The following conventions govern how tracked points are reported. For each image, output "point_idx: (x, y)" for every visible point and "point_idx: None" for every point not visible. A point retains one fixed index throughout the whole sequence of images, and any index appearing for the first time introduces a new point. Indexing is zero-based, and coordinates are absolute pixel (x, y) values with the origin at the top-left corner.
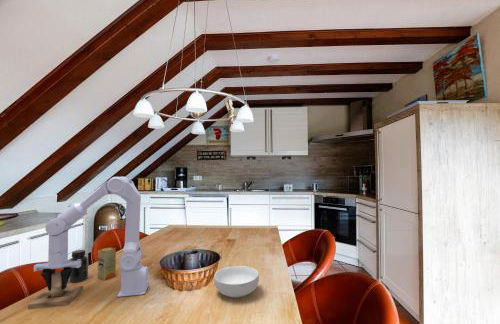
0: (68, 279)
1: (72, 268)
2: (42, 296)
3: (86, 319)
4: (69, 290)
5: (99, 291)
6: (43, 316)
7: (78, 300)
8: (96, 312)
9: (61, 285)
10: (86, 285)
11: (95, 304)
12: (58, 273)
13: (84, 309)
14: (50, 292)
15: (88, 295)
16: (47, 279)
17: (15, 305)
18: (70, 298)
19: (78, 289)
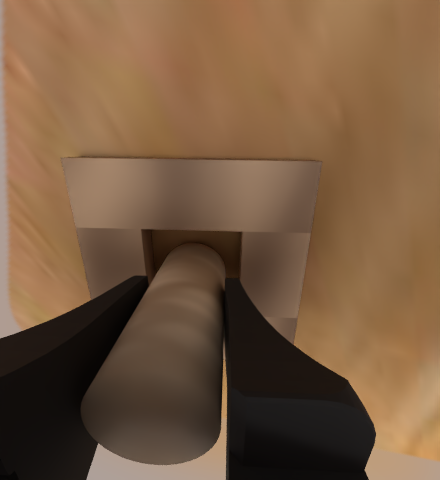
0: (255, 308)
1: (355, 469)
2: (114, 283)
3: (389, 451)
4: (245, 231)
5: (429, 221)
6: (222, 403)
7: (322, 310)
8: (422, 422)
9: (224, 346)
10: (317, 66)
11: (414, 367)
12: (156, 418)
13: (370, 393)
14: (126, 234)
15: (366, 264)
16: None
17: (18, 287)
18: (293, 337)
19: (305, 231)
